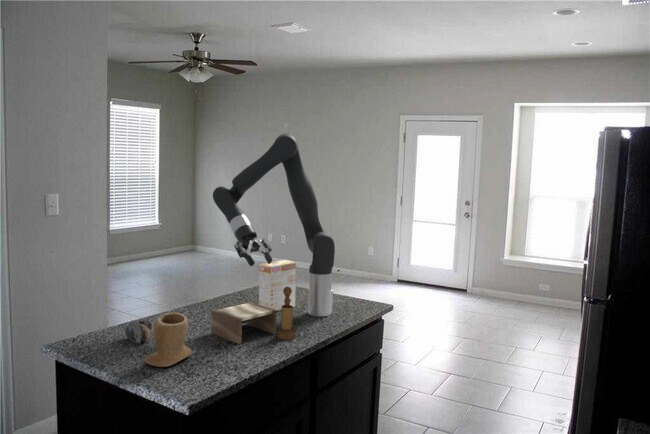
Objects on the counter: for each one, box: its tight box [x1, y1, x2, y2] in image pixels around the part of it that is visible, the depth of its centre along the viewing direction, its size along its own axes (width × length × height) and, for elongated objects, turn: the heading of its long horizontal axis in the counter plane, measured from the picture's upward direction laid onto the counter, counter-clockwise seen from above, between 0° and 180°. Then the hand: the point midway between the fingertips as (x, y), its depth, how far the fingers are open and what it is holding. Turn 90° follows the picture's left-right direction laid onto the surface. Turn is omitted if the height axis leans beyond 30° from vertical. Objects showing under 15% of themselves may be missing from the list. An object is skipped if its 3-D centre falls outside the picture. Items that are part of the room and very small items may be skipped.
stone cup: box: [144, 312, 193, 368], centre depth 170 cm, size 15×12×15 cm
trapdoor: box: [216, 302, 272, 325], centre depth 198 cm, size 14×14×6 cm
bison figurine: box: [124, 319, 153, 344], centre depth 189 cm, size 12×7×10 cm
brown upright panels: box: [211, 301, 278, 345], centre depth 199 cm, size 17×16×8 cm
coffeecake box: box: [258, 259, 297, 311], centre depth 232 cm, size 15×7×20 cm, turn 136°
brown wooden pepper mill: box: [276, 287, 297, 341], centre depth 196 cm, size 7×6×18 cm
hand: (261, 263), depth 205 cm, fingers open, 8 cm apart
